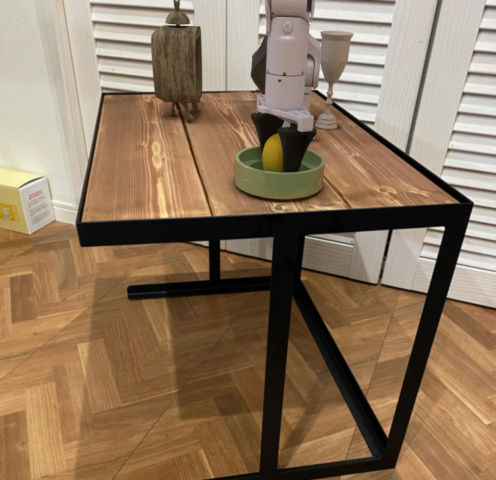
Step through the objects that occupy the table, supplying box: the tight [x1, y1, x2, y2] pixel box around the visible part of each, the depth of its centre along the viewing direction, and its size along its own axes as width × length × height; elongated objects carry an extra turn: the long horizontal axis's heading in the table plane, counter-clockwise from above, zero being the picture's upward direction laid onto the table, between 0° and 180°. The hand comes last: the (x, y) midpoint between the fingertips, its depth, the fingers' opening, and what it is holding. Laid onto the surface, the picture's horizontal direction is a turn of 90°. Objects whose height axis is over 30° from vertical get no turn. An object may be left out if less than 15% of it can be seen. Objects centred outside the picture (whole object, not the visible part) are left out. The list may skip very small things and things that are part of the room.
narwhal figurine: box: [250, 34, 316, 120], centre depth 118 cm, size 14×15×18 cm
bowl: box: [234, 145, 326, 200], centre depth 82 cm, size 14×14×4 cm
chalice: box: [314, 30, 355, 130], centre depth 108 cm, size 7×7×18 cm
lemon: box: [262, 133, 284, 173], centre depth 80 cm, size 6×6×8 cm
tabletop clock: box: [150, 0, 203, 123], centre depth 109 cm, size 14×9×25 cm, turn 179°
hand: (279, 166), depth 81 cm, fingers open, 7 cm apart
